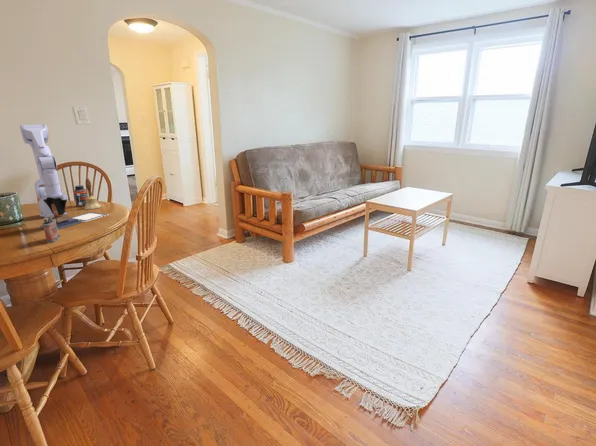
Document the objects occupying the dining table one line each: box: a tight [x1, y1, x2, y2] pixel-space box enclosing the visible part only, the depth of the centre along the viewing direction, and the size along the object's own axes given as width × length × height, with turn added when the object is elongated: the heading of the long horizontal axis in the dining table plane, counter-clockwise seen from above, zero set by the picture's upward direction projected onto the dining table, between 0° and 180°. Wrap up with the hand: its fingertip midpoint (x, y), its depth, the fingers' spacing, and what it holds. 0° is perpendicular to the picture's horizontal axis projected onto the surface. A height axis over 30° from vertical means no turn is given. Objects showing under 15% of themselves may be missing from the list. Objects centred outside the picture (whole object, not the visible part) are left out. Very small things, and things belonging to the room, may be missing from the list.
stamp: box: [51, 204, 70, 223], centre depth 151 cm, size 5×5×8 cm
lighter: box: [41, 214, 61, 244], centre depth 134 cm, size 8×3×10 cm, turn 17°
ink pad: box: [39, 217, 82, 231], centre depth 153 cm, size 10×12×2 cm
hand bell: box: [83, 178, 102, 210], centre depth 181 cm, size 8×8×16 cm
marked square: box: [70, 211, 110, 223], centre depth 166 cm, size 13×13×1 cm
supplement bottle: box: [73, 184, 89, 208], centre depth 186 cm, size 6×6×11 cm
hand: (58, 214), depth 152 cm, fingers closed on stamp, 4 cm apart
